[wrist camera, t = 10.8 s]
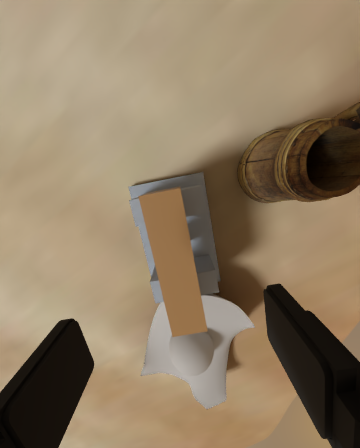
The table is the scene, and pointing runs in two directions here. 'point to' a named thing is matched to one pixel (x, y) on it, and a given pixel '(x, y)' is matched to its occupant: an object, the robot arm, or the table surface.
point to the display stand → (197, 227)
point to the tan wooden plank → (174, 260)
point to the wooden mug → (304, 160)
